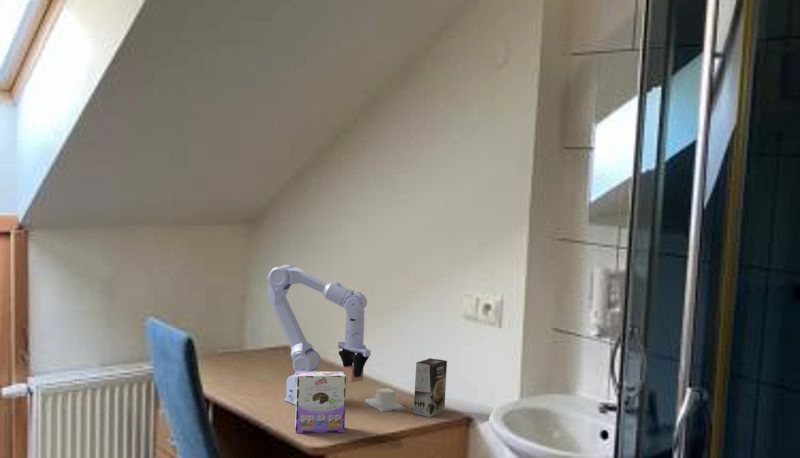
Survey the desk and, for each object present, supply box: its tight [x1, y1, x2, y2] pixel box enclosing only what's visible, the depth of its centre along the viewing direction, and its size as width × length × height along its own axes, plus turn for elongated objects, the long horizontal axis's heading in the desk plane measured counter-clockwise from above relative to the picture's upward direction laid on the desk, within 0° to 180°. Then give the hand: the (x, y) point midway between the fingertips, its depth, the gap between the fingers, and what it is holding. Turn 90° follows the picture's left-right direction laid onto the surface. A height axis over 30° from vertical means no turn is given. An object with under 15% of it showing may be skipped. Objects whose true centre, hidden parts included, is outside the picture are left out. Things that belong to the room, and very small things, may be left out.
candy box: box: [294, 370, 347, 434], centre depth 240 cm, size 14×6×16 cm, turn 99°
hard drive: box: [364, 397, 406, 413], centre depth 269 cm, size 2×8×12 cm
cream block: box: [375, 388, 396, 405], centre depth 268 cm, size 4×4×4 cm
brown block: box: [342, 365, 364, 383], centre depth 265 cm, size 4×4×4 cm
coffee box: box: [413, 357, 448, 418], centre depth 262 cm, size 9×6×16 cm
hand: (352, 375), depth 265 cm, fingers closed on brown block, 4 cm apart
